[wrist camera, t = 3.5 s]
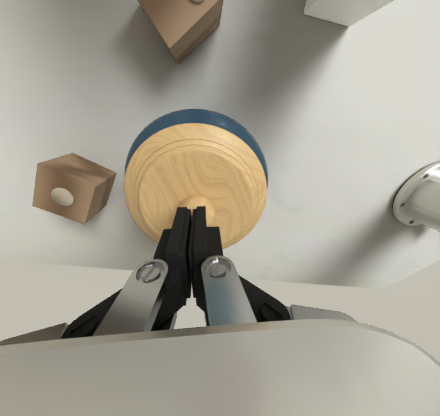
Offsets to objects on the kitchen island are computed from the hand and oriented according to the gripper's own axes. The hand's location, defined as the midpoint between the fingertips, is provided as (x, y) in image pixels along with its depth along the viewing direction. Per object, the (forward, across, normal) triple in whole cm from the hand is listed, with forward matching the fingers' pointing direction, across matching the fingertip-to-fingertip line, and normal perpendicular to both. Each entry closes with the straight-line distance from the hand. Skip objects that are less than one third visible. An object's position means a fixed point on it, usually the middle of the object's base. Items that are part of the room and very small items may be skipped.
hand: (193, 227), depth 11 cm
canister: (+18, 0, 0) cm, 18 cm away
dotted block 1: (+18, +17, +3) cm, 25 cm away
